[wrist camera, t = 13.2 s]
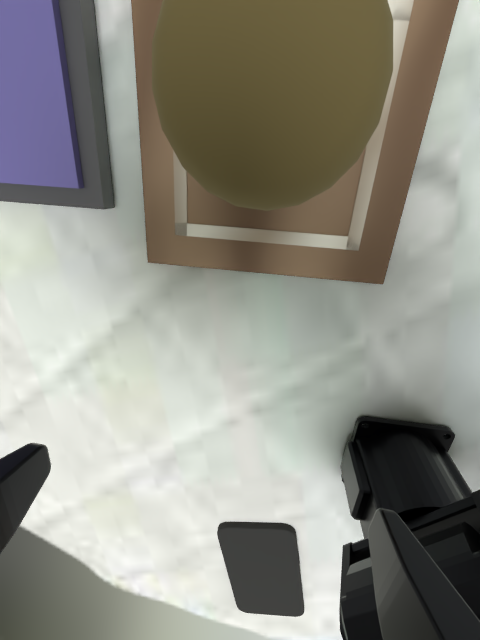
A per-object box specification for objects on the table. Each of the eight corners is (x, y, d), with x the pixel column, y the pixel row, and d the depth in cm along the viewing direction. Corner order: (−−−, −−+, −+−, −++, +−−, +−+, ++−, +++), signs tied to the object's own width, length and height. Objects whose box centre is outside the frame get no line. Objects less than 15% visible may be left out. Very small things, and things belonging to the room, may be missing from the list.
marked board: (469, -55, 12) (476, -63, 12) (381, 282, 18) (383, 284, 18) (131, -57, 13) (126, -65, 13) (150, 260, 19) (147, 262, 19)
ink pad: (90, -26, 14) (67, -52, 12) (114, 207, 18) (99, 209, 17) (-108, -29, 15) (-153, -53, 13) (-42, 195, 19) (-70, 196, 17)
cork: (218, 205, 17) (132, 238, 7) (210, 68, 15) (62, -172, 5) (331, 202, 16) (411, 235, 6) (343, 58, 14) (504, -253, 4)
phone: (237, 612, 35) (214, 527, 29) (238, 603, 35) (215, 518, 29) (305, 617, 33) (295, 529, 27) (304, 608, 34) (295, 520, 28)
